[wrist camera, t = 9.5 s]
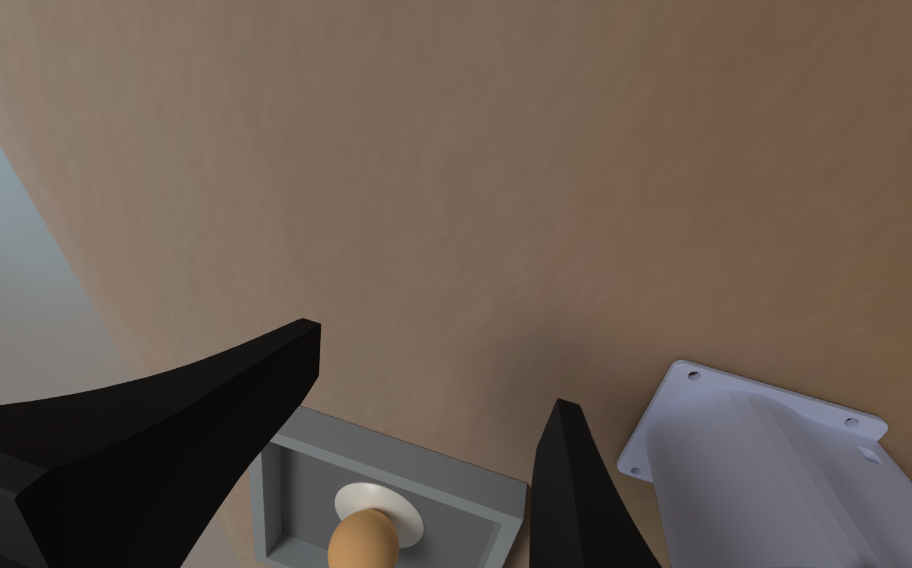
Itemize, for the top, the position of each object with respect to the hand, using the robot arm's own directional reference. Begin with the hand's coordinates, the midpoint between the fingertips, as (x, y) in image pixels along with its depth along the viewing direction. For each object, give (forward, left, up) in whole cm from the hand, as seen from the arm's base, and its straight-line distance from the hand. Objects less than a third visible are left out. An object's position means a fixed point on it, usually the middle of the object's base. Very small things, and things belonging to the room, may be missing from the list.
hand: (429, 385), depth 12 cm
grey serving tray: (+3, +22, -9) cm, 24 cm away
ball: (+3, +22, -6) cm, 23 cm away
